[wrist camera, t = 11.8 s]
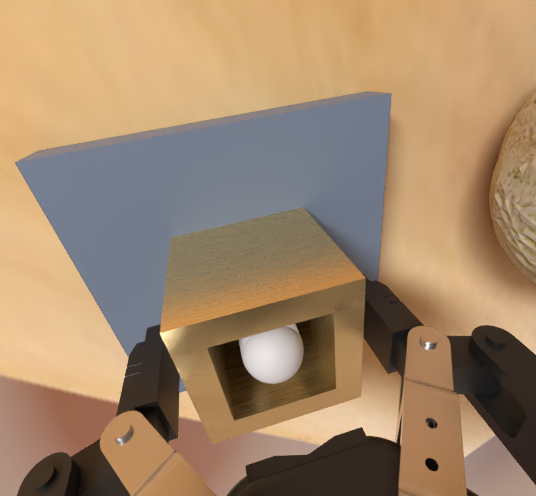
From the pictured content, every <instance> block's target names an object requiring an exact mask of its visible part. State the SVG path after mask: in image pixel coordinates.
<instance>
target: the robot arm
mask: <svg viewBox="0 0 536 496" xmlns="http://www.w3.org/2000/svg"><path fill="white" fill-rule="evenodd" d="M361 273H362V272H361ZM362 274H363V273H362ZM363 275H364V274H363ZM364 277H365V278H366V286H365V310H364V334H363V337H364V339H365V340H366V341H367V343H368V344H369V346H370V347H371V349H372V350H373V352H374V353H375V355H376V356H377V358H378V359H379V361H380V362H381V364H382V365H383V367H384V368H385V370H386V371H387V373H388V374H389V373H392V372H395V371H398V373H399V374H400V375H401V382H400V394H399V406H398V419H397V429H396V437H395V442H393V441H390V440H387V439H384V438H380V437H374V436H366V435H365V433H364V431H363V429H362V427H361V428H358V429H355V430H352V431H349V432H346V433H343V434H340V435H337V436H334V437H333V438H331V439H330V440H328V441H327V442H326V443H324V444H323V445H321V446H320V447H319V448H317V449H316V450H314V451H313V452H311V453H310V454H308V455H290V456H273V457H271V458H267V459H264V460H261V461H258V462H255V463H252V464H249V465H247V466H246V473H247V476H246V477H244V478H243V479H242V480H240V481H239V482H238V483H237V484H236V485H235V486H234V487H233V488H232V490H231V491H230V492H229V493H228V494H227V496H478V495H477V494H475V493H474V492H472V491H471V490H469V489H467V488H466V478H465V466H464V454H463V442H462V430H461V418H460V406H459V397H458V394H464V395H465V396H466V398H467V399H468V400H469V401H470V403H471V404H472V405H473V407H474V408H475V409H476V410H477V412H478V413H479V414H480V415H481V417H482V418H483V419H484V420H485V422H486V423H487V424H488V426H489V427H490V428H491V429H492V431H493V432H494V433H495V434H496V436H497V437H498V438H499V439H500V441H502V443H503V444H504V446H505V447H506V448H507V450H509V452H510V453H511V455H512V456H513V457H514V458H515V460H516V461H517V462H518V463H519V465H520V466H521V467H522V468H523V470H524V471H525V472H526V473H527V475H528V476H529V477H530V479H531V480H532V481H533V482H534V484H535V485H536V355H535V354H534V353H533V352H532V351H530V350H529V349H528V348H527V347H526V346H525V345H524V344H522V343H521V342H520V341H519V340H518V339H517V338H515V337H514V336H513V335H512V334H510V333H509V332H507V331H505V330H503V329H501V328H498V327H495V326H488V325H485V326H479V327H477V328H475V329H474V330H473V332H472V335H471V336H446V335H445V334H444V333H442V332H441V331H439V330H438V329H435V328H433V327H429V326H424V325H423V324H422V323H421V322H420V321H419V320H418V319H417V318H416V317H415V316H414V315H413V314H412V313H411V311H410V310H409V309H408V308H407V307H406V306H405V305H404V304H403V303H402V302H400V300H399V299H398V298H397V297H396V296H395V295H394V294H393V292H392V291H391V290H390V289H389V288H388V287H387V286H386V285H384V284H382V283H380V282H378V281H376V280H375V281H370V280H369V279H368V278H367V277H366V276H365V275H364ZM160 326H161V324H159V325H155V326H151V327H148V328H147V331H146V337H145V341H144V342H140V343H137V344H136V345H135V347H134V348H133V350H132V352H131V353H130V355H129V359H128V364H127V369H126V373H125V378H124V383H123V388H122V392H121V397H120V402H119V406H118V411H117V415H116V417H115V418H114V419H113V420H112V421H111V422H110V423H109V424H108V425H107V427H106V428H105V430H104V431H103V433H102V436H101V438H100V439H99V440H97V441H96V442H94V443H93V444H91V445H90V446H88V447H86V448H85V449H84V450H82V451H80V452H78V453H77V454H75V455H73V456H72V457H70V456H69V455H68V454H66V453H62V452H59V453H54V454H52V455H49V456H47V457H46V458H44V459H43V460H41V461H40V462H39V463H37V464H36V465H35V466H34V467H33V468H32V469H31V471H30V472H29V473H28V474H27V476H26V477H25V478H24V480H23V482H22V484H21V486H20V489H19V491H18V494H17V496H216V494H215V493H214V492H213V491H212V490H211V489H210V488H209V487H208V485H207V484H206V483H205V482H204V481H203V480H202V479H201V478H200V477H199V475H198V474H197V473H196V472H195V471H194V470H193V469H192V468H191V466H190V465H189V464H188V463H187V462H186V461H185V460H184V459H183V457H182V456H181V455H180V454H179V453H178V452H177V451H174V450H173V449H172V448H171V447H170V446H169V444H168V441H169V440H173V439H176V438H178V416H179V382H180V375H179V373H178V371H177V368H176V366H175V364H174V362H173V360H172V358H171V356H170V354H169V352H168V349H167V347H166V345H165V343H164V341H163V339H162V337H161V335H160Z"/></svg>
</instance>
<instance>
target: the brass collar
mask: <svg viewBox="0 0 536 496" xmlns="http://www.w3.org/2000/svg"><path fill="white" fill-rule="evenodd" d="M365 286H366V278H365V277H364V275H363V274H362V273H361V272H360V271H359V270H358V269H357V267H356V266H355V265H354V264H353V263H352V262H351V261H350V260H349V258H348V257H347V256H346V255H345V254H344V253H343V252H342V250H341V249H340V248H339V247H338V246H337V245H336V244H335V242H334V241H333V240H332V239H331V238H330V237H329V236H328V235H327V233H326V232H325V231H324V230H323V229H322V228H321V227H320V225H319V224H318V223H317V222H316V221H315V220H314V219H313V218H312V216H311V215H310V214H309V213H308V212H307V211H306V210H305V208H304V207H302V208H298V209H293V210H289V211H284V212H280V213H276V214H271V215H267V216H263V217H258V218H254V219H250V220H245V221H241V222H237V223H232V224H228V225H224V226H219V227H215V228H210V229H206V230H202V231H197V232H193V233H189V234H184V235H180V236H176V237H171V238H170V246H169V255H168V264H167V273H166V282H165V291H164V300H163V309H162V318H161V326H160V335H161V337H162V339H163V341H164V343H165V345H166V347H167V349H168V352H169V354H170V356H171V358H172V360H173V362H174V364H175V366H176V368H177V371H178V373H179V375H180V377H181V379H182V381H183V383H184V385H185V387H186V390H187V392H188V394H189V396H190V398H191V400H192V402H193V404H194V406H195V408H196V411H197V413H198V415H199V417H200V419H201V421H202V423H203V425H204V427H205V430H206V432H207V434H208V436H209V438H210V440H211V442H212V444H215V443H217V442H220V441H224V440H227V439H230V438H233V437H236V436H239V435H243V434H245V433H249V432H252V431H255V430H258V429H261V428H265V427H268V426H271V425H274V424H277V423H280V422H283V421H286V420H290V419H293V418H296V417H299V416H302V415H305V414H308V413H312V412H315V411H318V410H321V409H324V408H327V407H330V406H333V405H337V404H340V403H343V402H346V401H349V400H352V399H355V398H358V397H361V382H362V358H363V334H364V310H365ZM292 324H296V327H297V329H298V331H299V334H300V336H301V338H302V341H303V346H304V355H303V360H302V363H301V366H300V367H299V369H298V371H297V372H296V373H295V374H294V375H293V376H292V377H291V378H290V379H288V380H286V381H284V382H281V383H277V384H269V383H264V382H261V381H259V380H257V379H256V378H254V377H253V376H252V375H251V374H250V373H249V372H248V370H247V369H246V367H245V365H244V363H243V360H242V356H241V350H240V345H239V340H238V339H242V338H245V337H249V336H252V335H256V334H259V333H263V332H267V331H270V330H274V329H277V328H281V327H285V326H288V325H292Z"/></svg>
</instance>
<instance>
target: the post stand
mask: <svg viewBox="0 0 536 496" xmlns="http://www.w3.org/2000/svg"><path fill="white" fill-rule="evenodd" d="M390 107H391V93H380V92H362V93H357V94H351V95H345V96H340V97H334V98H329V99H323V100H318V101H312V102H307V103H301V104H296V105H290V106H284V107H279V108H273V109H268V110H262V111H257V112H251V113H246V114H240V115H235V116H229V117H223V118H218V119H212V120H207V121H201V122H196V123H190V124H185V125H179V126H174V127H168V128H162V129H157V130H151V131H146V132H140V133H135V134H129V135H124V136H118V137H113V138H107V139H102V140H96V141H90V142H85V143H79V144H74V145H68V146H63V147H57V148H52V149H46V150H41V151H37V152H35V153H33V154H31V155H29V156H27V157H25V158H23V159H21V160H19V161H17V162H15V164H16V166H17V167H18V169H19V171H20V172H21V174H22V176H23V178H24V179H25V181H26V183H27V184H28V186H29V188H30V189H31V191H32V193H33V195H34V196H35V198H36V200H37V201H38V203H39V205H40V207H41V208H42V210H43V212H44V213H45V215H46V217H47V219H48V220H49V222H50V224H51V225H52V227H53V229H54V231H55V232H56V234H57V236H58V237H59V239H60V241H61V243H62V244H63V246H64V248H65V249H66V251H67V253H68V255H69V256H70V258H71V260H72V261H73V263H74V265H75V267H76V268H77V270H78V272H79V273H80V275H81V277H82V279H83V280H84V282H85V284H86V285H87V287H88V289H89V291H90V292H91V294H92V296H93V297H94V299H95V301H96V303H97V304H98V306H99V308H100V309H101V311H102V313H103V315H104V316H105V318H106V320H107V321H108V323H109V325H110V327H111V328H112V330H113V332H114V333H115V335H116V337H117V339H118V340H119V342H120V344H121V345H122V347H123V349H124V351H125V352H126V354H127V356H128V357H129V355H130V353H131V352H132V350H133V348H134V347H135V345H136V344H137V343H140V342H144V341H145V337H146V331H147V328H148V327H151V326H155V325H159V324H161V318H162V309H163V300H164V291H165V282H166V273H167V264H168V255H169V246H170V238H171V237H176V236H180V235H184V234H189V233H193V232H197V231H202V230H206V229H210V228H215V227H219V226H224V225H228V224H232V223H237V222H241V221H245V220H250V219H254V218H258V217H263V216H267V215H271V214H276V213H280V212H284V211H289V210H293V209H298V208H302V207H304V208H305V210H306V211H307V212H308V213H309V214H310V215H311V216H312V218H313V219H314V220H315V221H316V222H317V223H318V224H319V225H320V227H321V228H322V229H323V230H324V231H325V232H326V233H327V235H328V236H329V237H330V238H331V239H332V240H333V241H334V242H335V244H336V245H337V246H338V247H339V248H340V249H341V250H342V252H343V253H344V254H345V255H346V256H347V257H348V258H349V260H350V261H351V262H352V263H353V264H354V265H355V266H356V267H357V269H358V270H359V271H360V272H362V273H363V274H364V275H365V276H366V277H367V278H368V279H369V280H370V281H375V280H376V281H378V272H379V258H380V244H381V231H382V217H383V203H384V189H385V175H386V162H387V148H388V134H389V120H390ZM363 339H364V337H363ZM238 340H239V345H240V350H241V356H242V360H243V363H244V365H245V367H246V369H247V370H248V372H249V373H250V374H251V375H252V376H253V377H254V378H256V379H257V380H259V381H261V382H264V383H269V384H277V383H281V382H284V381H286V380H288V379H290V378H291V377H292V376H293V375H294V374H295V373H296V372H297V371H298V369H299V367H300V366H301V363H302V360H303V355H304V346H303V341H302V338H301V336H300V334H299V331H298V329H297V327H296V324H292V325H288V326H285V327H281V328H277V329H274V330H270V331H267V332H263V333H259V334H256V335H252V336H249V337H245V338H242V339H238ZM183 391H186V387H185V385H184V383H183V381H182V379H181V377H180V382H179V393H180V392H183Z"/></svg>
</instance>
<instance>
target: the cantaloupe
mask: <svg viewBox="0 0 536 496" xmlns="http://www.w3.org/2000/svg"><path fill="white" fill-rule="evenodd" d="M489 208H490V214H491V218H492V222H493V225H494V230H495V234H496V236H497V238H498V241H499V243H500V245H501V246H502V248H503V250H504V251H505V253H506V254H507V256H508V257H509V259H510V260H511V262H512V263H513V264H514V265H515V266H516V267H517V268H518V269H519V270H520V271H521V272H522V274H523V275H525V276H526V277H527V278H528V279H529V280H530V281H531V282H532V283H533V284H534V285H535V286H536V91H535V92H534V94H533V95H532V97H531V98H530V99H528V100H527V101H526V102H525V103H524V105H523V106H522V107H521V109H520V110H519V111H518V113H517V114H516V116H515V118H514V120H513V122H512V123H511V125H510V127H509V128H508V130H507V132H506V134H505V137H504V139H503V142H502V145H501V148H500V152H499V156H498V160H497V163H496V166H495V169H494V171H493V174H492V180H491V186H490V191H489Z"/></svg>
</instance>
